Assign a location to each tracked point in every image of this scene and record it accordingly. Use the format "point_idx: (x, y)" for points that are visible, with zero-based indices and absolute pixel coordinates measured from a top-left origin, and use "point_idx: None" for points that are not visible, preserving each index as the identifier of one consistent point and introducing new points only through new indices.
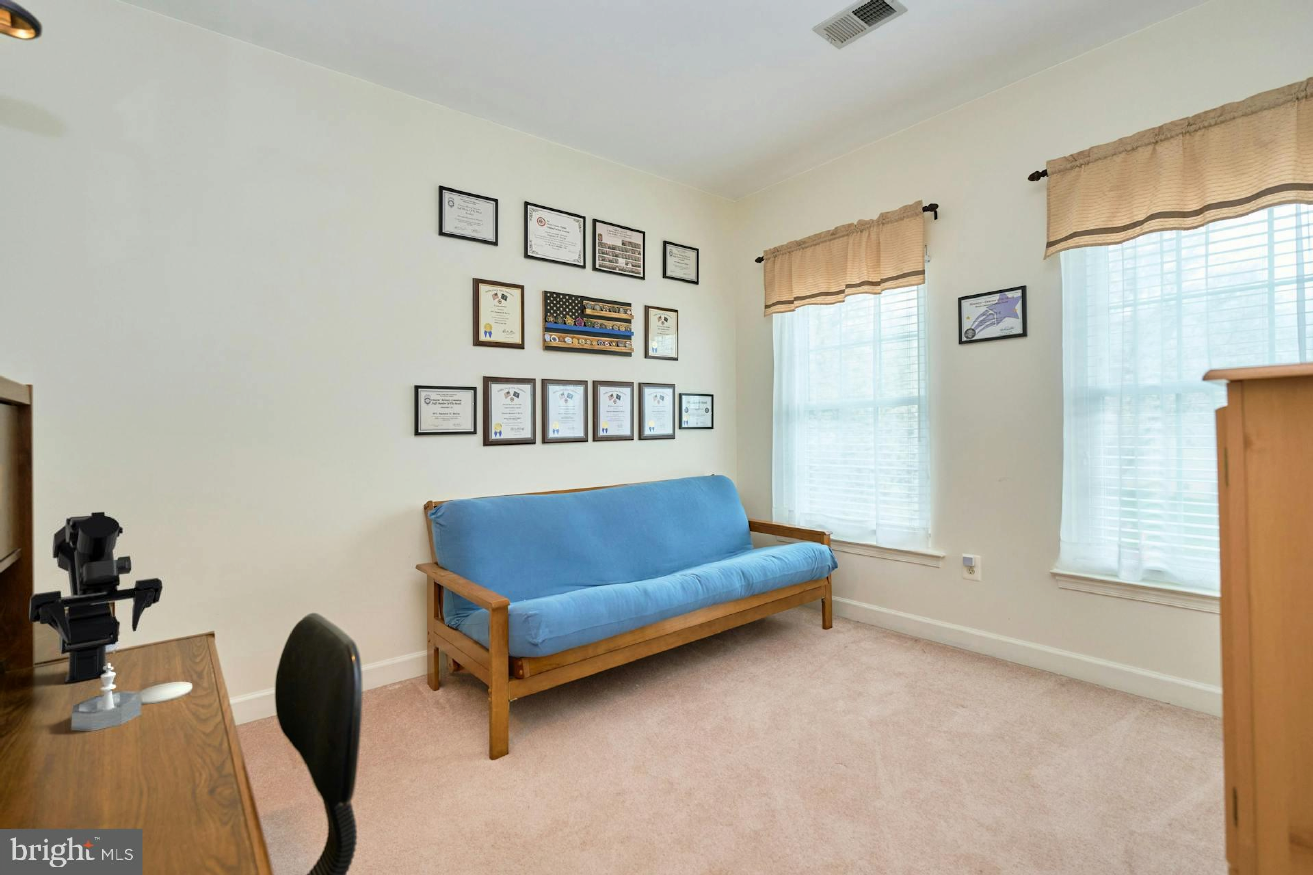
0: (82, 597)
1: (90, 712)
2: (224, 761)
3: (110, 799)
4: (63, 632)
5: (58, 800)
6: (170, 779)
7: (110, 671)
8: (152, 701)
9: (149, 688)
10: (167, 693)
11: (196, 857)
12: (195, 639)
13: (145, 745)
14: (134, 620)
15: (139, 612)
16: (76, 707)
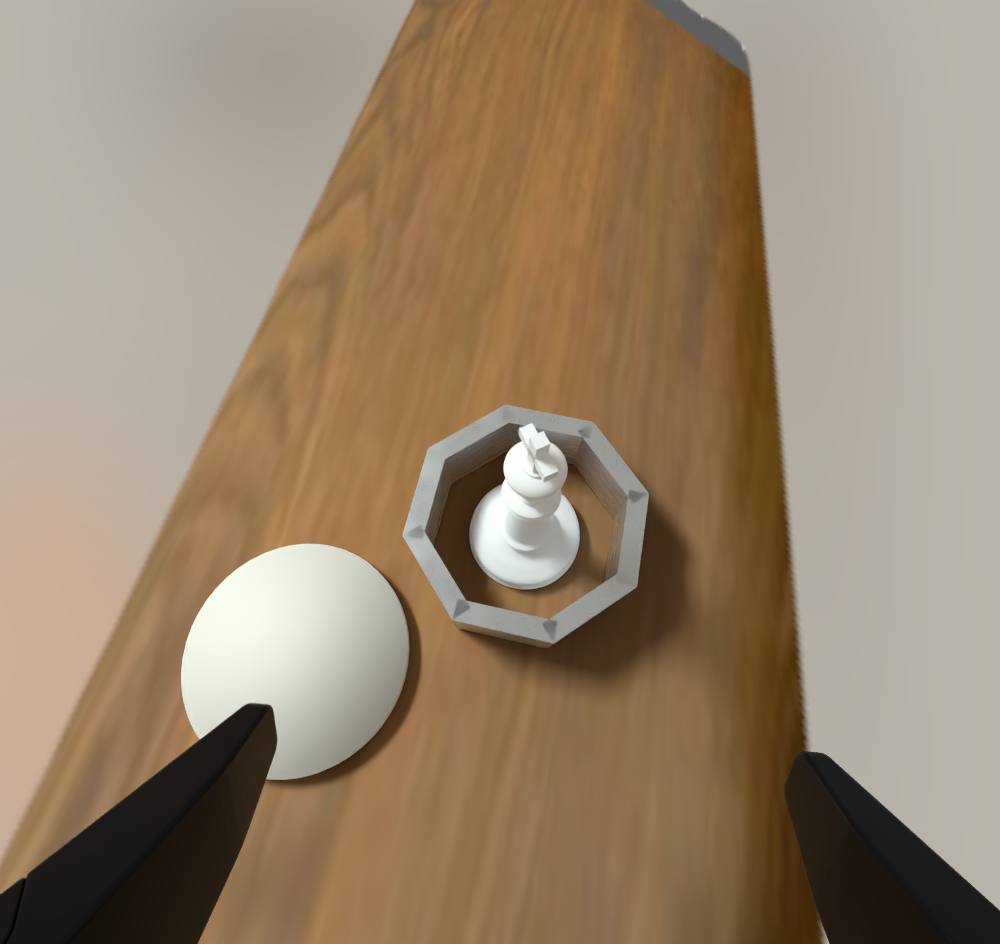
0: None
1: (595, 440)
2: (407, 47)
3: (606, 58)
4: (925, 847)
5: (682, 115)
6: (507, 52)
7: (527, 456)
8: (369, 564)
9: (317, 756)
10: (300, 600)
11: None
12: None
13: (496, 232)
14: (206, 771)
15: (59, 862)
16: (629, 548)
